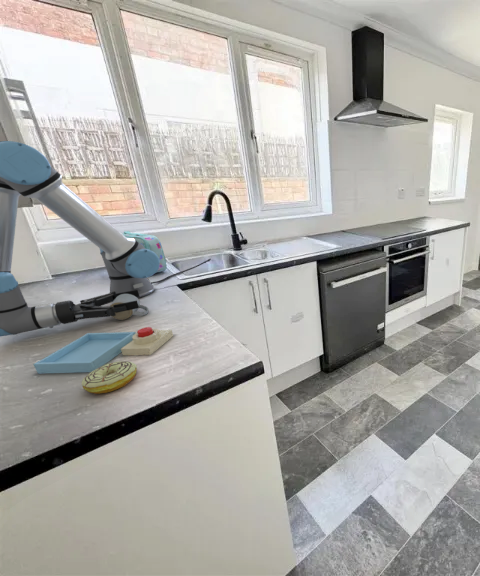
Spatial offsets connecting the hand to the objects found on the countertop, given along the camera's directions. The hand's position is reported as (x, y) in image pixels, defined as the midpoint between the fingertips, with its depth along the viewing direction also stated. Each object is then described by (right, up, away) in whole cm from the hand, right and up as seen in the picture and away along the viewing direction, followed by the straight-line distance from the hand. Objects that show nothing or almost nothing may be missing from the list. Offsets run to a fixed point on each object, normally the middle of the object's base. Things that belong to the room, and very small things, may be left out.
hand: (138, 298), depth 114 cm
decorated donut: (+23, -20, -36) cm, 47 cm away
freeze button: (+19, -10, -21) cm, 30 cm away
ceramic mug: (-3, -7, 0) cm, 7 cm away
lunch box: (-37, +12, +50) cm, 63 cm away
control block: (+19, -14, -20) cm, 31 cm away
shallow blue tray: (+6, -16, -25) cm, 30 cm away
